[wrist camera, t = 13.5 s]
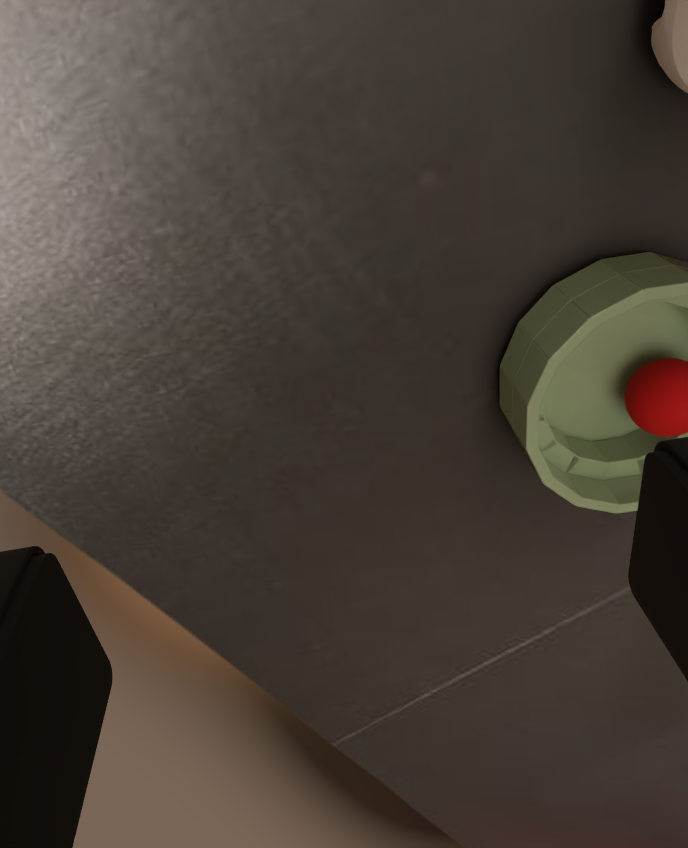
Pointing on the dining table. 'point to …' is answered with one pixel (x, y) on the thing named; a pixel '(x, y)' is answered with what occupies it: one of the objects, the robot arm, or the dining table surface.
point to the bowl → (593, 375)
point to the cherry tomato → (659, 397)
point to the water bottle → (672, 42)
